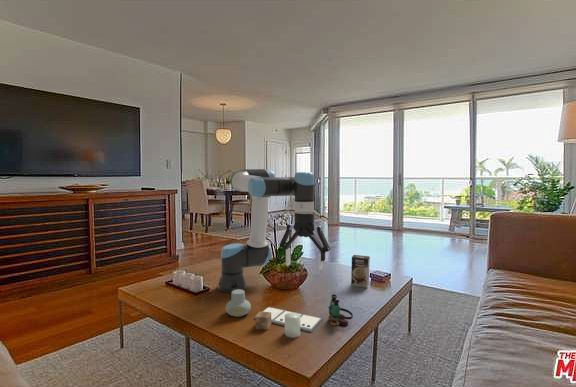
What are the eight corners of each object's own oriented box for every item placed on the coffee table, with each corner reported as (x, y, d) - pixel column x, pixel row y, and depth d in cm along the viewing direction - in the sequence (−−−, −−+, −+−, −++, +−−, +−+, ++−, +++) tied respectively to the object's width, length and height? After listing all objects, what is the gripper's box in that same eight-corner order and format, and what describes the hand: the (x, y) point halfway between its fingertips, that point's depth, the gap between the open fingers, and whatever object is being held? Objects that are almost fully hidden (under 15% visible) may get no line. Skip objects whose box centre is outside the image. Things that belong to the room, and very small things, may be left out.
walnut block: (255, 328, 127) (255, 316, 127) (259, 323, 132) (259, 311, 132) (267, 330, 126) (267, 317, 126) (271, 324, 131) (271, 312, 131)
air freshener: (251, 309, 145) (251, 288, 144) (250, 317, 137) (249, 294, 136) (227, 310, 145) (227, 288, 144) (224, 318, 136) (223, 295, 136)
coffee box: (350, 286, 176) (351, 257, 175) (353, 282, 182) (353, 254, 181) (367, 288, 173) (368, 258, 172) (369, 284, 179) (369, 255, 178)
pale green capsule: (281, 335, 122) (281, 317, 121) (289, 328, 127) (289, 311, 127) (296, 339, 119) (296, 320, 119) (302, 332, 124) (303, 314, 124)
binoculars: (356, 302, 128) (332, 300, 128) (353, 328, 129) (329, 326, 128) (350, 294, 137) (327, 292, 137) (347, 318, 138) (324, 316, 137)
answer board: (254, 318, 136) (254, 316, 136) (268, 308, 146) (268, 305, 146) (311, 332, 124) (311, 329, 124) (322, 320, 134) (322, 317, 134)
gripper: (270, 211, 125) (271, 265, 126) (332, 215, 114) (332, 274, 115) (279, 210, 132) (279, 261, 133) (338, 213, 121) (338, 268, 122)
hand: (304, 267), depth 124 cm, fingers open, 13 cm apart
